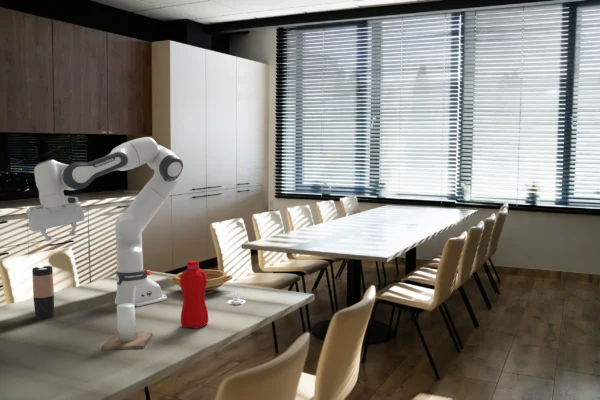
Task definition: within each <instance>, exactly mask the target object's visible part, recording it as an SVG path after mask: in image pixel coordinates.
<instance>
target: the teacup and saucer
mask: <svg viewBox="0 0 600 400" xmlns="http://www.w3.org/2000/svg"><path fill="white" fill-rule="evenodd" d="M240 297H241V294H240V293H239V292H234V293H232V299H229V300H228V301H227V304H230V305H243V304H245V303H246V300H245V299H240Z"/></svg>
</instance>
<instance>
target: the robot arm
mask: <svg viewBox="0 0 600 400" xmlns="http://www.w3.org/2000/svg"><path fill="white" fill-rule="evenodd" d="M143 165H147V166H148V167H149V168H151V170H153V171H154V173H153V175H152V177H151V178H150V179H149V180H148V181H147V182H146V184H145V185H144V187H142V189H141V190H140V191H139V193H138V194H137V195H136V196H135V197H134V199H133V200H132V201H131V203H130V204H129V206H128V207H127V208H126V210H125V211H124V212H123V213H122V214H121V215H119V216H118V217H117V219H116V222H115V228H114V229H115V239H116V240H115V243H116V244H115V246H116V247H115V248H116V254H115V255H116V273H115V281H116V293H115V294H116V295H115V300H114V304H115V305H116V306H117V305H120V304H124V303H133V304H134V305H135V307H141V306H146V305H150V304H154V303H159V302H162V301H167V300H168V295H166V294H165V293H162V288H161V286H160V285H159V283H158V282H156V281H155V280H153V279H151V278H150V277H148V276H151V275H152V271H151V270H147V269H145V268H144V254H143V251H144V250H143V237H142V235H143V232H144V231H145V229H146V228H147V226H148V225H149V223H150V222H151V221H152V219H153V218H154V217H155V216H156V214H157V213H158V211H159V210H160V209H161V207H163V205H164V203H165V202H166V201H167V200H168V198H169V197H170V196H171V194H172V193H173V192H174V190H175V188H176V186H177V184H178V178H179V176H181V174H182V172H183V169H184V164H183V160H182V159H181V158H180V157H179V156H178V155H177V154H175V153H174V152H173V151H172V150H170V148H166V147H165V146H164V145H162V144H160V143H158V142H156V141H155V139H154V138H152V137H151V136H145V137H138V138H134V139H132V140H128V141H126V142H123V143H121V144H119V145H118V146H115V147H113V149H112V150H111V151H110V153H108V154H107V155H105V156H103V157H100V158H97V159H94V160H93V161H89V162H82V161H81V162H78V161H77V162H76V161H75V162H72V163H70V164H66V163H63V162H59V161H57V160H55V159H47V160H45V161H44V160H43V161H42V162H39V163H37V164H36V165H35V167H34V169H33V171H34V181H35V184H36V188H37V189H38V197H39V202H40V204H38V205H35V206H29V207H28V208H27V209H26V212H25V214H26V217H27V218H28V227H29V230H30V231H31V232H37V231H40V234H41V235H42V236H44V238H45V241H46V242H50V241H52V237H51V235H48V234H47V233H46V232H47V229H52V228H57V227H62V226H65V225H70V226H71V230H69V234H70V236H71V237H72V236H75V235H76V229H77V225H78V224H77V223H80V222H83V221H84V220H85V219H86V218H85V213H84V209H83V207H82V206H81V204H80V203H79V198H78V197H77V196H69V195H65V193H64V191H67V190H68V191H75V190H82V189H84V188H87V187H88V186H89V185H90V184H91V183H92V182H93V181H94V180H95V179H97V178H99V177H102V176H103V175H104V176H105V175H107V174H108V173H111V172H115V171H122V172H124V171H128V170H133V169H135V168H138V167H140V166H143Z"/></svg>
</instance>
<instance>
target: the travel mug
mask: <svg viewBox="0 0 600 400" xmlns="http://www.w3.org/2000/svg"><path fill="white" fill-rule="evenodd" d="M31 270H32V273H31V275H32V292H33V294H32V295H33V305H34V306H33V307H34V315H35V316H34V317H35V318H36V319H37V320H38V319H39V320H45V319H49V318H53V317H54V316H55V289H54V275H53V274H54V273H53V272H54V271H53V270H54V269H53V267H52V266H51V265H49V266H48V265H44V266H43V267H38V266H36V267H33V268H32V269H31Z"/></svg>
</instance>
